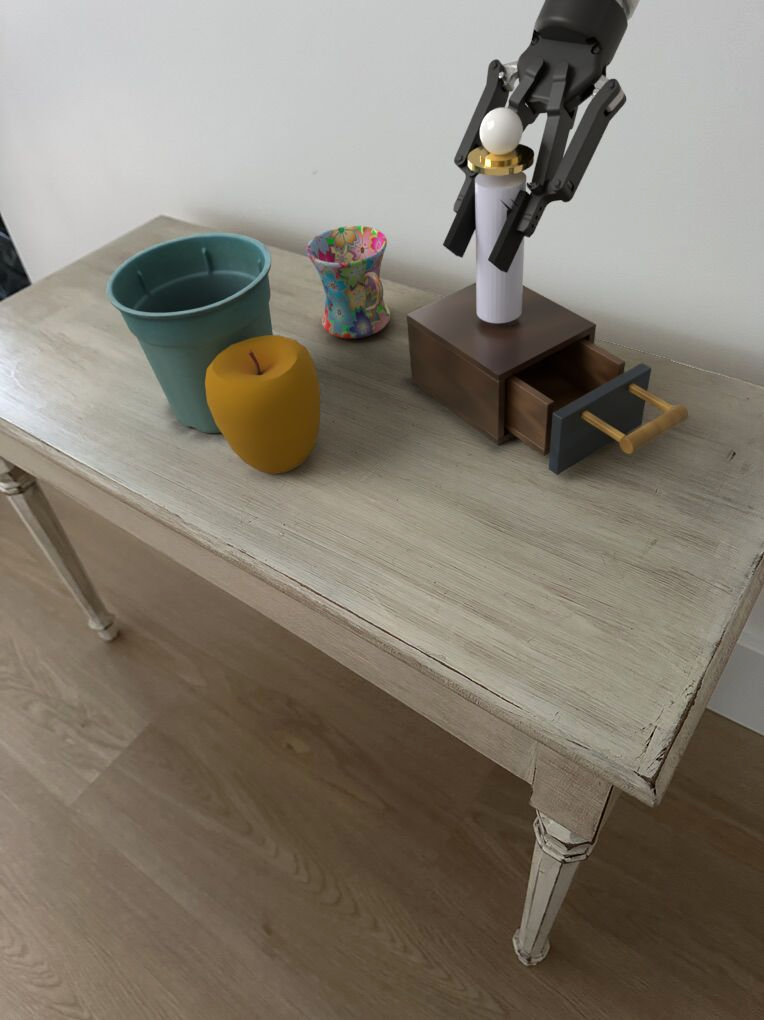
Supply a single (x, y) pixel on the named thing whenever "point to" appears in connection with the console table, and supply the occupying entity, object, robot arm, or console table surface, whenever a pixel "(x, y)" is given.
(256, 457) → the apple
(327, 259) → the mug
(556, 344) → the cabinet
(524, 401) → the drawer
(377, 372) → the console table surface
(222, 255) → the flower pot
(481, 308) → the perfume bottle
